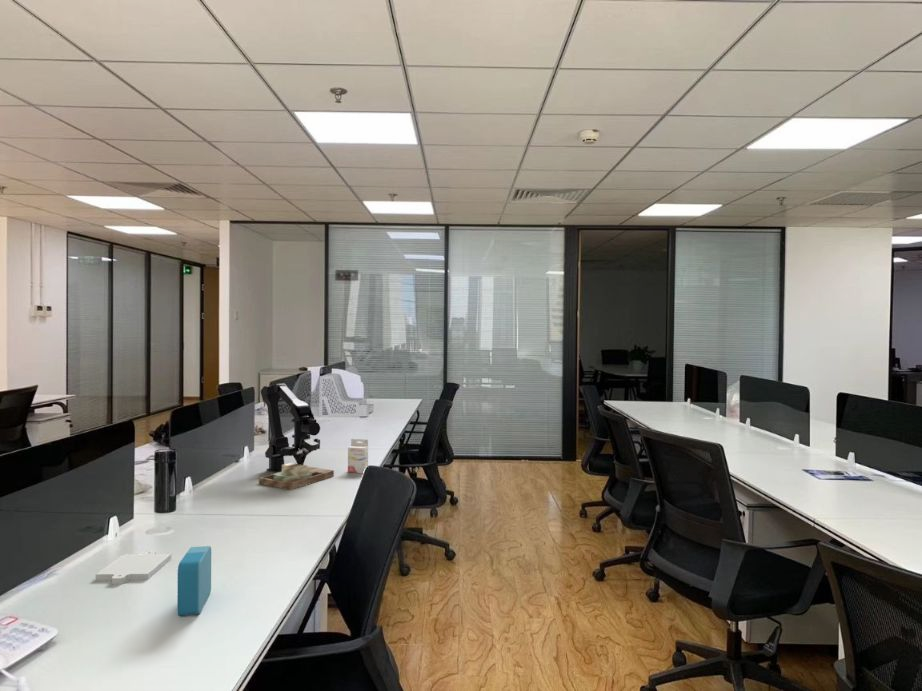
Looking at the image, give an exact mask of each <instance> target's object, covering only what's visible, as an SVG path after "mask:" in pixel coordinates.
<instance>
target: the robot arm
mask: <svg viewBox="0 0 922 691" xmlns="http://www.w3.org/2000/svg"><path fill="white" fill-rule="evenodd" d="M260 395H261V398H262V401H263V403H264V404H265V405H266V407H267V415H268V421H269V426H270V427H269V428H270V433H271V437H270V439H269V441H268V447H267V449H266V451H265V452H264V455H265V458H266V459H268V468H266V471H269V472H275V473H279V472H282V465H284V464H285V457H293V458H294V460H295V462H296V464H301V465H305V464H304V463H305V460H306V458H307V456H308V455H309V454H311V452H314V451H315V452H316V451H317V450H320V449H321V439H320V438H318V437H317V438H314V439H312V438H311V436H317V435H319V433H320V431H321V425H320V423H318V422H317V419H316V418H315V415H314V414H313V412H312V409H311V406H310V404H308V403H306V402H305V401H304V400H301V399H299V398H298V397H297V396H296V394H294V393H293V391H292V390H291V389H290V388H289V387H288V385H287V384H286V383H284V382H283V383H276V384H273V385H264V386H263V387H262V388H261V390H260ZM281 399H282V400H283V401H284V402H285V403H286V404H287V405H288V407H289V412H290V414H291V416H292V417H293V418H292V419H291V422H293V426H294V427H293V430H294V431H293V434H292V436H291V437H292V438H293V444H291V446H290V444H289V438H288V437H287V436H285V435H284V432H283V427H282V422H281V414H280V409H279V402H280V400H281Z"/></svg>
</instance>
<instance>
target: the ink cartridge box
mask: <svg viewBox="0 0 922 691" xmlns="http://www.w3.org/2000/svg"><path fill="white" fill-rule="evenodd" d="M350 442H351V445H350V446H348V447H347V473H354V474H355V473H356V474H357V473H358V474H364V473H363V471H364V469H365V468H366V466H368V467H369V440H368V439H364V438H363V439H362V438H361V439H360V438H352V439H351V440H350Z"/></svg>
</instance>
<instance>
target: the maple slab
mask: <svg viewBox="0 0 922 691" xmlns="http://www.w3.org/2000/svg"><path fill="white" fill-rule="evenodd" d="M307 466H308V465H307V464H303V465H301V464H297V463H293V462H289V463H284V465H282V470H281V472H282V473H285V474H291V475H296V476H300V475H304V474H307Z"/></svg>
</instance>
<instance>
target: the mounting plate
mask: <svg viewBox="0 0 922 691" xmlns="http://www.w3.org/2000/svg"><path fill="white" fill-rule="evenodd" d="M170 561H172V554H171V553H168V554H167V553H157V551H156V550H146V551H145V552H142V553H141V554H139V553H138V554H137V553H136V554H135V553H134V554H133V553H132V554H131V553H129V554H126V553H125V554H122V555H121V556H119V557H118V558H116V559H115V560H114V561H112V562H111V563H109V564H108V565H106V566H105V567H104V568H102V569H101V570H99V571H98V572H97V573H96V574H95V581H111V585H123V584H124V583H126V582H128V581H149V580H150V579H151V578H152V577H153V576H154V575H156V574H157V573H158V572H159V571H160V570H161V569H162V568H163V567H165V566H166V565H167V564H168V563H169V562H170Z"/></svg>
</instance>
